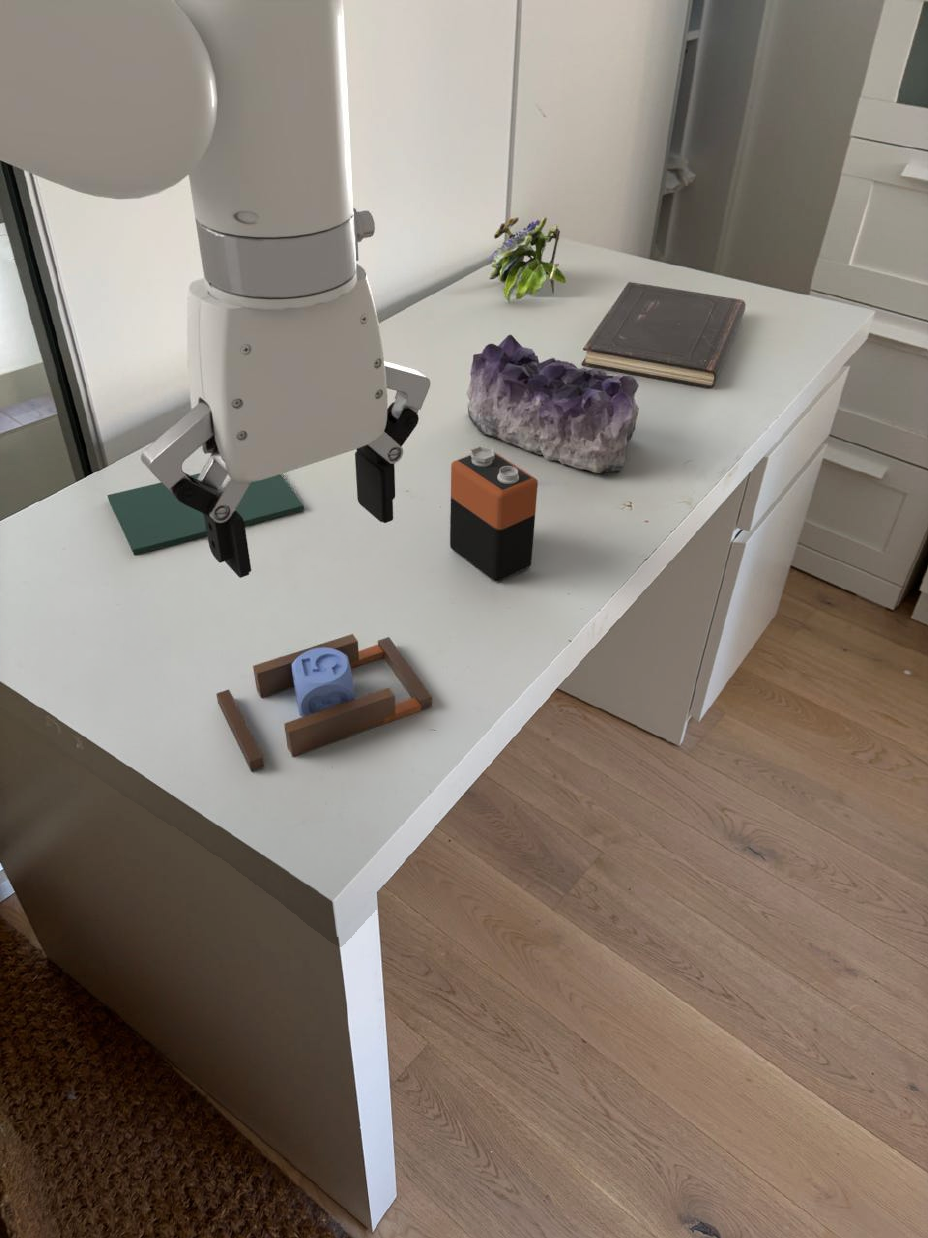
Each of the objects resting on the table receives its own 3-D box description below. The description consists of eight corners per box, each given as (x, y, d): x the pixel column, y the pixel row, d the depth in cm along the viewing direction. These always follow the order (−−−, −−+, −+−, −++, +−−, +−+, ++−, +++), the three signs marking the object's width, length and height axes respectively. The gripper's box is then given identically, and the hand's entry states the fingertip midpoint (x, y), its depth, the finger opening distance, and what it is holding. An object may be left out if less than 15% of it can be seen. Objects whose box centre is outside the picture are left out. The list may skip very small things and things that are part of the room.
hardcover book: (581, 365, 117) (583, 347, 115) (626, 298, 133) (628, 281, 132) (713, 389, 113) (717, 371, 111) (743, 316, 129) (747, 300, 128)
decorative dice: (294, 690, 73) (289, 651, 70) (347, 682, 74) (344, 642, 71) (302, 728, 70) (297, 688, 67) (356, 718, 71) (353, 678, 68)
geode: (435, 437, 103) (439, 343, 97) (489, 408, 111) (496, 320, 106) (610, 487, 94) (625, 387, 89) (654, 451, 103) (670, 358, 98)
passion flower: (502, 319, 140) (508, 234, 140) (575, 317, 136) (581, 230, 136) (474, 297, 130) (480, 206, 129) (552, 294, 126) (559, 200, 125)
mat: (134, 555, 85) (132, 549, 85) (108, 500, 92) (107, 494, 92) (304, 510, 91) (303, 505, 91) (268, 461, 98) (268, 456, 98)
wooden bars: (251, 772, 67) (246, 747, 65) (217, 702, 72) (212, 678, 70) (432, 706, 72) (432, 682, 70) (389, 646, 77) (388, 622, 75)
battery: (484, 532, 89) (488, 436, 83) (533, 567, 85) (541, 469, 79) (447, 548, 87) (448, 451, 81) (495, 585, 83) (501, 486, 77)
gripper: (386, 202, 54) (393, 469, 65) (78, 263, 46) (146, 555, 57) (465, 241, 49) (459, 521, 60) (139, 316, 41) (200, 623, 52)
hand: (307, 537), depth 58 cm, fingers open, 9 cm apart
